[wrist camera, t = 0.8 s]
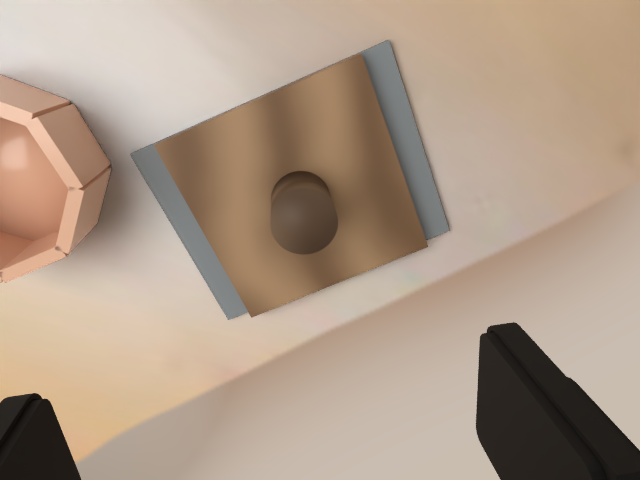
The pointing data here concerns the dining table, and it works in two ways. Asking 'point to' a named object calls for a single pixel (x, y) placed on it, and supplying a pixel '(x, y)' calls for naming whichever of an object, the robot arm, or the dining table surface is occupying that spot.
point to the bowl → (45, 178)
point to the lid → (297, 187)
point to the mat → (405, 145)
